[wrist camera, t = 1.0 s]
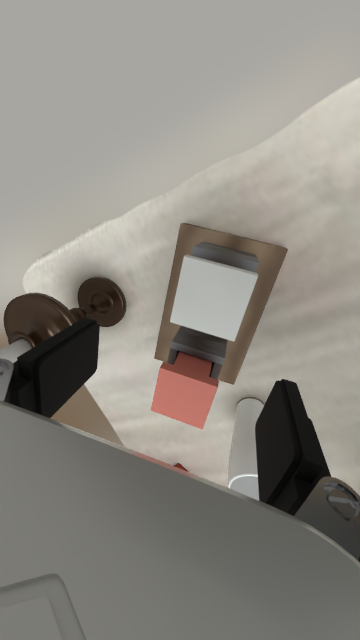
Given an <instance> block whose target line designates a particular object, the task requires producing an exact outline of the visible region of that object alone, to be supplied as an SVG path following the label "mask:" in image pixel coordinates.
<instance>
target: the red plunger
mask: <svg viewBox="0 0 360 640" xmlns="http://www.w3.org/2000/svg"><path fill="white" fill-rule="evenodd" d="M211 366H212V361H209V360H206V359H203V358H200V357H196V356H193V355H190V354H187V353H184V352H181V351H180V352H179V354H178V357H177V359H176V361H175V363H174V365H172V364H169V363H166V362H163V363H162V365H161V367H160V370H159V375H158V379H157V384H156V389H155V393H154V398H153V403H152V407H151V411H154V412H157V413H160V414H162V415H165V416H168V417H170V418H173V419H176V420H179V421H181V422H184V423H187V424H190V425H192V426H195V427H198V428H200V429H203V426H204V424H205V421H206V418H207V415H208V413H209V410H210V407H211V404H212V402H213V399H214V396H215V393H216V391H217V388H218V382H219V380H217V379H214V378H211V377H209V375H210V371H211Z"/></svg>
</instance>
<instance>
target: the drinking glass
mask: <svg viewBox="0 0 360 640" xmlns="http://www.w3.org/2000/svg"><path fill="white" fill-rule="evenodd" d="M263 407H264V404H263V403H262V402H260V401H259V400H256V399H252V398H247V399H243V400H241V401H240V402H239V403H238V404H237V406H236V416H235V423H234V430H233V436H232V443H231V449H230V456H229V468H228V488H230V489H232V490H234V491H237V492H239V493H242V494H244V495H246V496H249V497H251V498H254V499H256V500H258V501H259V489H258V472H257V456H256V439H255V425H256V422H257V419H258V417H259V415H260V413H261V411H262V409H263Z"/></svg>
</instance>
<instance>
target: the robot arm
mask: <svg viewBox="0 0 360 640" xmlns="http://www.w3.org/2000/svg"><path fill="white" fill-rule="evenodd" d="M99 329H100V326H99V324H97V321H96V320H94V319H90V318H87V317H84V318H82V319H80V320H79V321H77V322H75V323H74V324H72V325H70V326H69V327H67V328H65V329H64V330H62V331H60V332H59V333H57V334H55V335H54V336H52V337H50V338H49V339H47V340H45V341H44V342H42V343H40V344H39V345H37V346H35V347H34V348H32V349H30V350H29V351H27V352H25V353H23V354H22V355H20V356H18V357H17V361H16V362H14V363H12V362H11V361H9V360H7V359H2V358H0V640H360V496H359V495H358V494H357V493H356V492H355V491H354V490H353V489H352V488H351V487H350V486H348V485H347V484H346V483H344V482H343V481H341V480H339V479H337V478H334V477H331V475H330V472H329V469H328V466H327V463H326V461H325V458H324V455H323V452H322V449H321V446H320V443H319V440H318V438H317V435H316V432H315V429H314V426H313V423H312V421H311V419H309V418H308V416H307V413H306V410H305V407H304V404H303V401H302V398H301V395H300V392H299V389H298V386H297V384H296V383H295V382H291V381H288V380H285V379H282V380H281V381H276V383H275V385H274V387H273V389H272V391H271V393H270V395H269V397H268V399H267V401H266V403H265V405H264V407H263V409H262V411H261V413H260V415H259V417H258V419H257V422H256V425H255V439H256V456H257V472H258V489H259V501H258V500H256V499H254V498H251V497H249V496H246V495H244V494H242V493H239V492H237V491H234V490H232V489H230V488H227V487H225V486H222V485H220V484H217V483H215V482H212V481H209V480H207V479H204V478H202V477H199V476H197V475H194V474H192V473H189V472H187V471H184V470H182V469H179V468H177V467H174V466H172V465H169V464H167V463H164V462H161V461H159V460H156V459H154V458H151V457H149V456H146V455H144V454H141V453H138V452H136V451H133V450H131V449H128V448H126V447H123V446H120V445H118V444H115V443H113V442H110V441H108V440H105V439H102V438H100V437H97V436H95V435H92V434H90V433H87V432H84V431H81V430H79V429H76V428H74V427H71V426H68V425H66V424H63V423H60V422H58V421H56V420H53V419H50V418H51V417H52V416H53V415H54V413H56V412H57V410H59V408H61V407H62V406H63V404H65V403H66V401H67V400H68V399H69V398H70V397H71V396H72V395H73V394H74V393H75V392H76V391H77V390H78V389H79V388H80V387H81V386H82V385H83V384H84V383H85V382H86V381H87V380H88V379H89V378H90V377H91V376H92V375H93V374H94V373H95V371H96V369H97V361H98V345H99Z"/></svg>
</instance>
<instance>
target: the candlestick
mask: <svg viewBox="0 0 360 640" xmlns="http://www.w3.org/2000/svg"><path fill="white" fill-rule="evenodd" d="M78 303H79V308H72V309H70V310H69V309H68V308H67V307H65V306H64V305H63V304H62V303H61V302H59V301H58V300H56V299H54V298H53V297H50V296H48V295H45V294H41V293H28V294H25V295H22V296H19V297H16V298H15V299H13V300H12V301H11V302H10V303H9V304H8V305H7V307H6V310H5V313H4V327H5V331H6V334H7V336H8V342H9V345H8V346H7V347H5V348H3V349H1V350H0V358H2V359H7V360H9V361H11V362H12V363H14V362H16V361H17V357H18V356H20V355H22V354H23V353H25V352H27V351H29V350H30V349H32V348H34V347H35V346H37V345H39V344H40V343H42V342H44V341H45V340H47V339H49V338H50V337H52V336H54V335H55V334H57V333H59V332H60V331H62V330H64V329H65V328H67V327H69V326H70V325H72V324H74V323H75V322H77V321H79V320H80V319H82V318H84V317H87V318H90V319H94V320H96V321H97V324H99V326H102V327H109V326H113V325H115V324H117V323H118V322H119V321H120V320H121V319H122V318H123V317H124V315H125V312H126V300H125V297H124V294H123V293H122V291H121V289H120V288H119V287H118V286H117V285H116V284H115V283H114V282H112V281H111V280H109V279H106V278H103V277H94V278H91V279H88V280H86V281H85V282H84V283H83V284H82V285H81V286H80V288H79V291H78Z"/></svg>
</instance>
